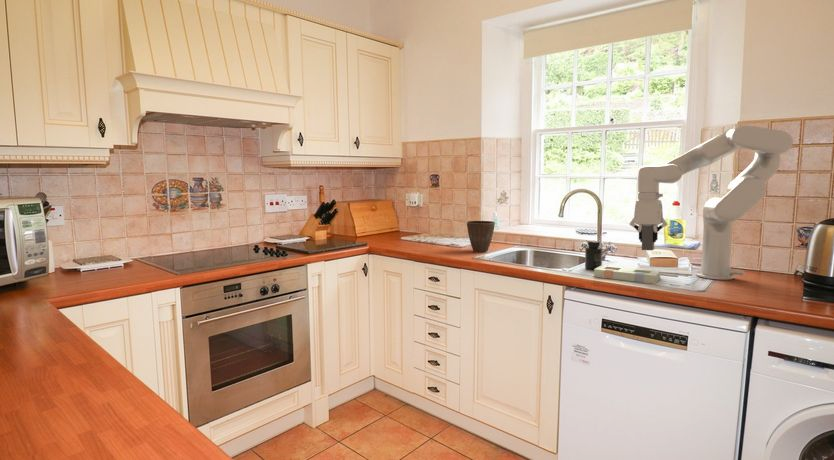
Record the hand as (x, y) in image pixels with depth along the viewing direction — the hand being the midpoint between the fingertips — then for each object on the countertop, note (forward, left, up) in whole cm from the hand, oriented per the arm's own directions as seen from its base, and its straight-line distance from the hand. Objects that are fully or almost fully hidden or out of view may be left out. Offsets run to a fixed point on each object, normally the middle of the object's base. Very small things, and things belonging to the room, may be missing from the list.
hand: (648, 241), depth 193 cm
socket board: (+5, +12, -13) cm, 19 cm away
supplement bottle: (+21, +1, -14) cm, 25 cm away
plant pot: (+84, -14, -14) cm, 86 cm away
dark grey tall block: (0, 0, -3) cm, 3 cm away
